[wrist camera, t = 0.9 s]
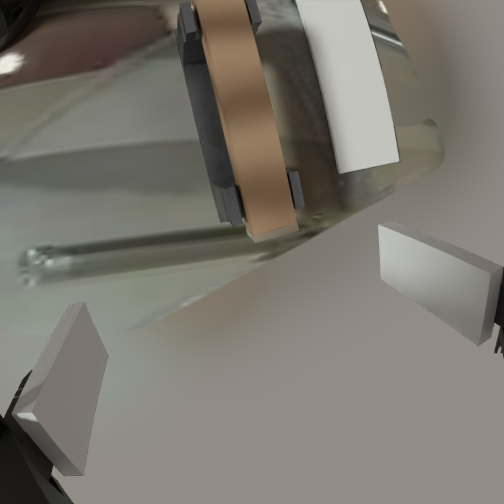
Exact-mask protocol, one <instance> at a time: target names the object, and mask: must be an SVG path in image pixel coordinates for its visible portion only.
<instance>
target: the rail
mask: <svg viewBox="0 0 504 504" xmlns="http://www.w3.org/2000/svg"><path fill="white" fill-rule="evenodd" d="M191 1H192V3H193V6H194V10H195V15H196V19H197V23H198V27H199V31H200V35H201V40H202V44H203V48H204V52H205V56H206V61H207V65H208V69H209V73H210V77H211V81H212V86H213V90H214V94H215V98H216V102H217V107H218V111H219V115H220V119H221V123H222V127H223V132H224V136H225V140H226V144H227V148H228V153H229V157H230V161H231V165H232V169H233V174H234V178H235V182H236V186H237V190H238V195H239V199H240V203H241V207H242V211H243V215H244V220H245V224H246V231H247V234H248V235H249V237H250V238H251V239H252V240H253V241H254V242H255V243H258V242H261V241H265V240H268V239H272V238H275V237H279V236H282V235H286V234H289V233H293V232H296V231H299V229H298V224H297V223H296V217H295V212H294V207H293V202H292V197H291V192H290V187H289V183H288V178H287V173H286V168H285V164H284V159H283V154H282V150H281V145H280V141H279V136H278V132H277V128H276V123H275V119H274V115H273V110H272V106H271V102H270V98H269V94H268V89H267V85H266V81H265V77H264V73H263V69H262V65H261V61H260V58H259V54H258V50H257V46H256V42H255V39H254V35H253V31H252V27H251V24H250V20H249V17H248V13H247V9H246V6H245V2H244V0H191Z"/></svg>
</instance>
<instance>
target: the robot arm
mask: <svg viewBox="0 0 504 504" xmlns="http://www.w3.org/2000/svg"><path fill="white" fill-rule="evenodd" d="M40 3H41V0H0V50H2V49H3V48H4V47H6V46H7V45H8V44H9V43H10V42H12V41H13V40H14V39H15V38H16V37H17V36H18V35H19V34H20V33H21V31H22V30H23V29H24V28H25V27H26V25H27V24H28V23H29V21H30V20H31V19H32V17H33V16H34V14H35V12H36V11H37V9H38V7H39V5H40ZM378 231H379V246H380V267H381V279H382V280H383V281H385V282H386V283H388V284H389V285H391V286H392V287H394V288H395V289H397V290H398V291H400V292H401V293H403V294H404V295H406V296H407V297H409V298H410V299H411V300H413V301H414V302H416V303H417V304H419V305H420V306H422V307H423V308H425V309H426V310H428V311H429V312H431V313H432V314H433V315H435V316H436V317H438V318H439V319H441V320H442V321H444V322H445V323H446V324H448V325H449V326H451V327H452V328H454V329H455V330H456V331H458V332H459V333H461V334H462V335H463V336H465V337H466V338H468V339H469V340H470V341H472V342H473V343H475V344H476V345H477V346H479V345H481V344H482V343H484V342H485V341H486V340H488V339H489V338H491V335H492V330H493V326H494V322H495V323H496V324H498V325H499V326H500V330H499V334H498V338H497V342H496V347H495V353H497V351H498V348H499V347H500V346H501V348H502V350H501V353H503V357H504V267H503V266H501V265H498V264H496V263H494V262H492V261H490V260H487V259H485V258H483V257H480V256H478V255H475V254H473V253H471V252H469V251H466V250H464V249H462V248H459V247H456V246H454V245H452V244H449V243H447V242H445V241H442V240H440V239H437V238H434V237H432V236H429V235H427V234H424V233H422V232H419V231H416V230H414V229H411V228H409V227H406V226H403V225H401V224H398V223H395V222H393V221H389V222H385V223H382V224H378ZM107 359H108V354H107V352H106V349H105V347H104V345H103V343H102V341H101V339H100V337H99V334H98V332H97V330H96V328H95V325H94V323H93V321H92V318H91V316H90V314H89V311H88V309H87V307H86V304H85V302H81V303H77V304H73V305H69V307H68V308H67V310H66V312H65V313H64V315H63V317H62V318H61V320H60V322H59V323H58V325H57V327H56V329H55V330H54V332H53V334H52V335H51V337H50V339H49V341H48V343H47V344H46V346H45V348H44V350H43V352H42V354H41V356H40V357H39V359H38V361H37V363H36V365H35V367H34V369H33V370H31V371H30V372H29V373H28V374H27V375H26V376H25V377H24V379H23V380H22V382H21V384H20V386H19V388H18V391H17V392H16V394H15V396H14V397H15V398H13V400H12V402H11V404H10V406H9V408H8V410H7V413H6V414H5V417H4V419H3V418H2V416H1V415H0V504H74V503H73V502H72V501H71V499H70V498H69V497H68V495H67V494H66V493H65V491H64V490H63V488H62V487H61V485H60V484H59V482H58V481H57V480H56V479H55V478H54V477H53V476H52V475H51V473H52V468H53V465H54V466H55V467H56V468H57V469H58V471H59V472H60V473H61V474H62V475H63V476H84V473H85V466H86V460H87V454H88V448H89V442H90V437H91V431H92V426H93V421H94V416H95V411H96V407H97V402H98V397H99V393H100V389H101V384H102V380H103V376H104V371H105V368H106V364H107Z"/></svg>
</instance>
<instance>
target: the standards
mask: <svg viewBox="0 0 504 504" xmlns="http://www.w3.org/2000/svg"><path fill="white" fill-rule="evenodd" d="M244 2H245V6H246V9H247V13H248V17H249V20H250V24H251V27H252V31H253V35H255V34H256V32H257V31H258V27H259V26H260V24H261V23H262V20H261V17H260V13H259V10H258V6H257V3H256V0H244ZM175 36H176V41H177V45H178V50H179V54H180V58H181V63H182V67H183V72H184V76H185V80H186V85H187V89H188V93H189V98H190V102H191V106H192V110H193V114H194V119H195V123H196V127H197V131H198V135H199V139H200V144H201V148H202V152H203V156H204V160H205V164H206V168H207V172H208V176H209V180H210V184H211V188H212V192H213V196H214V200H215V204H216V208H217V212H218V215H219V219H220V222H221V223H222V222H225V221H227V222H230V223H231V224H232V226H236V225H239V224H243V222H242V218H244V215H243V211H242V207H241V203H240V199H239V195H238V190H237V186H236V182H235V178H234V174H233V169H232V165H231V161H230V157H229V153H228V148H227V144H226V140H225V136H224V132H223V127H222V123H221V119H220V115H219V111H218V107H217V102H216V98H215V94H214V90H213V86H212V81H211V77H210V73H209V69H208V65H207V61H206V56H205V52H204V48H203V44H202V40H201V35H200V31H199V27H198V23H197V19H196V15H195V10H194V11H192V9H191V4H190V2H186V3H181V4H180V13H179V14H178V23H177V29H175ZM286 173H287V178H288V183H289V187H290V192H291V197H292V202H293V207H294V208H295V209H298V208H302V207H305V204H304V199H303V193H302V188H301V183H300V178H299V173H298V171H294V170H290V169H286Z"/></svg>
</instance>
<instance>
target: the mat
mask: <svg viewBox="0 0 504 504" xmlns="http://www.w3.org/2000/svg"><path fill="white" fill-rule="evenodd" d="M295 1H296V4H297V7H298V10H299V13H300V16H301V20H302V23H303V26H304V30H305V33H306V37H307V40H308V44H309V47H310V51H311V55H312V58H313V62H314V66H315V70H316V74H317V78H318V82H319V86H320V90H321V94H322V98H323V102H324V107H325V111H326V116H327V120H328V125H329V130H330V135H331V139H332V144H333V150H334V155H335V160H336V165H337V171H338V174H341V173H346V172H351V171H355V170H360V169H365V168H369V167H374V166H379V165H384V164H389V163H394V162H399V156H398V150H397V143H396V137H395V132H394V126H393V121H392V116H391V111H390V106H389V101H388V97H387V92H386V88H385V84H384V79H383V75H382V71H381V67H380V64H379V60H378V56H377V52H376V49H375V45H374V42H373V39H372V35H371V32H370V29H369V26H368V22H367V19H366V16H365V13H364V10H363V7H362V4H361V2H360V0H295Z"/></svg>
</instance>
